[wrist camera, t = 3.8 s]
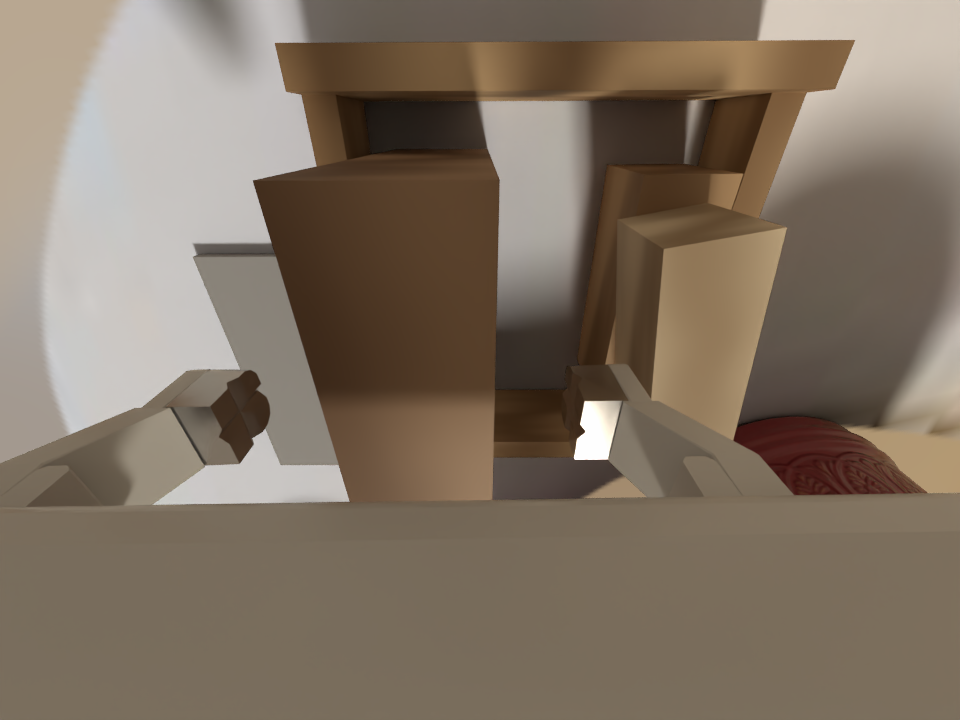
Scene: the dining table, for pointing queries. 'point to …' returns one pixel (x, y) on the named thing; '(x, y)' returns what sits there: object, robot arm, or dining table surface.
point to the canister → (823, 458)
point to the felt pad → (269, 351)
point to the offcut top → (694, 306)
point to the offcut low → (628, 197)
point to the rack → (570, 77)
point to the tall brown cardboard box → (397, 313)
